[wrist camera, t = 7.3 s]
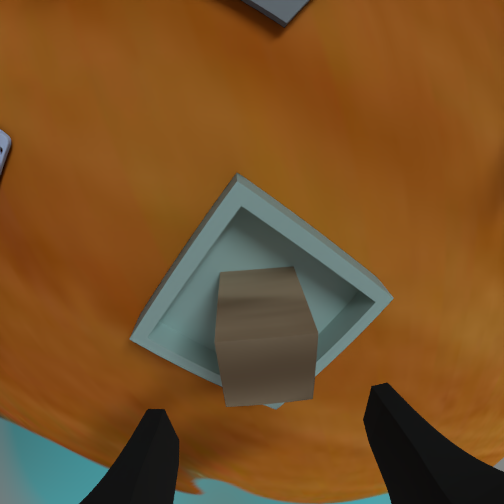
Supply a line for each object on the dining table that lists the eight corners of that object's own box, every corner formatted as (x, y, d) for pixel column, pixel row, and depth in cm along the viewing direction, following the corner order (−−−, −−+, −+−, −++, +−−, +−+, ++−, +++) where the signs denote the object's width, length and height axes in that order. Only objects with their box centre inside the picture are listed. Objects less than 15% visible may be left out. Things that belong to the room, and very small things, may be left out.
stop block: (293, 325, 19) (312, 398, 13) (227, 330, 19) (226, 406, 13) (293, 266, 17) (318, 332, 12) (220, 271, 17) (214, 341, 12)
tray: (272, 384, 22) (276, 409, 19) (139, 314, 19) (129, 339, 17) (377, 277, 19) (393, 297, 16) (236, 172, 16) (237, 181, 13)
